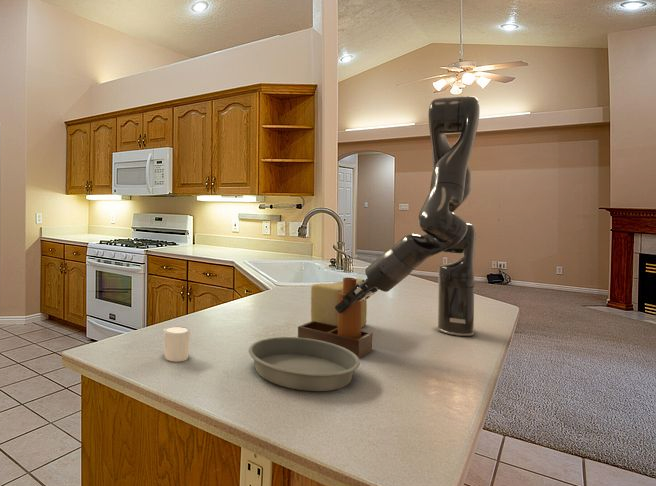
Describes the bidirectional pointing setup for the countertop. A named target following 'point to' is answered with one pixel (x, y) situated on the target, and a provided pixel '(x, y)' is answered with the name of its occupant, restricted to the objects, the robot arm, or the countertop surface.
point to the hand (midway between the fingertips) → (343, 308)
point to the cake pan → (304, 363)
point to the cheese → (330, 303)
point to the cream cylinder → (176, 343)
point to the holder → (336, 337)
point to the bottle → (349, 313)
